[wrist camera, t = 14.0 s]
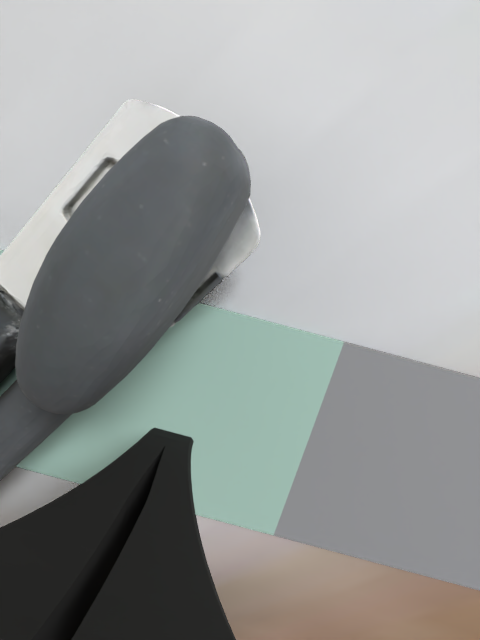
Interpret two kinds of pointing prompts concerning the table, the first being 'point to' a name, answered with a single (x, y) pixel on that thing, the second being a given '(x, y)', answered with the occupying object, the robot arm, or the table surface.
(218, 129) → the can opener
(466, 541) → the mat
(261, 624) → the table surface
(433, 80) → the table surface
